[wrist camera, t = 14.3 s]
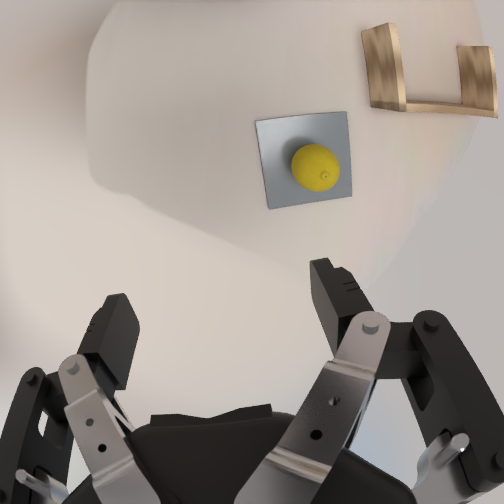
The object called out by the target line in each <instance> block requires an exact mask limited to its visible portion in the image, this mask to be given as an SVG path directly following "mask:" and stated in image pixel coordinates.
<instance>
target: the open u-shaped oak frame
mask: <svg viewBox="0 0 504 504" xmlns="http://www.w3.org/2000/svg"><path fill="white" fill-rule="evenodd" d="M361 34H362V40H363V46H364V52H365V59H366V66H367V73H368V81H369V90H370V100H371V107H374V108H381V109H387V110H393V111H398V112H431V113H450V114H463V115H474V116H483V117H491V118H498V103H497V85H496V73H495V64H494V56H493V49H492V47H489V46H465V47H457V52H458V60H459V68H460V78H461V90H462V104H454V103H442V102H429V101H408V100H406V96H405V85H404V75H403V67H402V59H401V52H400V46H399V39H398V34H397V28H396V23H389V22H388V23H385V24H382V25H379V26H376V27H373V28H371V29H368V30H365V31H362V32H361Z"/></svg>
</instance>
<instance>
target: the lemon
mask: <svg viewBox="0 0 504 504" xmlns="http://www.w3.org/2000/svg"><path fill="white" fill-rule="evenodd" d="M291 167H292V173H293V175H294V178H295V179H296V181H297V182H298V183H299V184H300V185H301V186H302V187H304V188H306V189H308V190H310V191H315V192H321V191H325V190H328V189H330V188H331V187H333V186H334V185H335V184H336V182H337V180H338V178H339V175H340V166H339V162H338V160H337V158H336V156H335V155H334V154H333V153H332V151H331V150H329V149H328V148H326V147H324V146H321V145H318V144H310V145H306V146H304V147H301V148H300V149H299V150H298V151H297V152H296V153H295V155H294V157H293V159H292V164H291Z"/></svg>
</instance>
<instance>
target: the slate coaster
mask: <svg viewBox="0 0 504 504" xmlns="http://www.w3.org/2000/svg"><path fill="white" fill-rule="evenodd" d="M255 124H256V130H257V136H258V142H259V149H260V155H261V161H262V168H263V174H264V181H265V187H266V194H267V201H268V208H269V210H270V209H276V208H282V207H288V206H294V205H300V204H306V203H312V202H318V201H325V200H331V199H338V198H345V197H352V177H351V158H350V143H349V130H348V119H347V112H332V113H320V114H309V115H299V116H290V117H282V118H274V119H267V120H260V121H255ZM310 144H318V145H321V146H324V147H326V148H328V149H329V150H331V151H332V153H333V154H334V155H335V156H336V158H337V160H338V162H339V166H340V175H339V178H338V180H337V182H336V184H335V185H334V186H333V187H331V188H330V189H328V190H325V191H321V192H315V191H310V190H308V189H306V188H304V187H302V186H301V185H300V184H299V183H298V182H297V181H296V179H295V178H294V175H293V173H292V167H291V164H292V159H293V157H294V155H295V153H296V152H297V151H298V150H299V149H300V148H301V147H304V146H306V145H310Z"/></svg>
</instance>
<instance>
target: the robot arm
mask: <svg viewBox="0 0 504 504" xmlns="http://www.w3.org/2000/svg"><path fill="white" fill-rule="evenodd" d="M310 280H311V294H312V299H313V303H314V306H315V309H316V311H317V314H318V317H319V319H320V322H321V324H322V327H323V329H324V332H325V335H326V337H327V340H328V343H329V345H330V348H331V350H332V353H333V355H334V359H333V360H332V361H327V362H326V363H325V365H324V367H323V368H322V370H321V372H320V374H319V376H318V378H317V380H316V381H315V383H314V385H313V387H312V389H311V390H310V392H309V394H308V395H307V397H306V399H305V401H304V402H303V404H302V406H301V407H300V409H299V411H298V413H297V414H296V416H294V415H291V414H288V413H282V412H272V408H271V404H265V405H259V406H252V407H245V408H239V409H236V410H233V411H230V412H227V413H224V414H221V415H218V416H215V417H212V418H200V417H194V416H188V415H182V414H164V415H151V420H150V424H147V425H144V426H141V427H139V428H137V429H135V428H134V426H133V425H132V423H131V422H130V420H129V418H128V417H127V415H126V414H125V412H124V410H123V408H122V407H121V405H120V403H119V402H118V400H117V398H116V397H115V396H114V393H115V390H125V389H126V385H127V380H128V376H129V372H130V368H131V363H132V359H133V355H134V351H135V348H136V343H137V340H138V336H139V332H140V326H139V321H138V319H137V317H136V315H135V312H134V310H133V308H132V306H131V304H130V302H129V300H128V298H127V296H126V295H125V294H124V293H120V294H114V295H108V296H107V298H106V300H105V302H104V304H103V306H102V308H100V309H99V310H98V311H97V312H96V313H95V314H94V315H93V317H92V319H91V321H90V326H88V328H87V330H86V331H87V332H86V333H85V335H84V337H83V340H82V342H81V344H80V347H79V349H78V352H77V354H75V355H72V356H69V357H68V358H66V359H65V360H64V361H63V362H62V363H61V365H60V367H59V370H58V371H57V372H54V373H51V374H48V375H46V374H45V373H44V371H43V370H42V369H41V368H39V367H34V368H31V369H29V370H28V371H27V372H26V373H25V374H24V375H23V376H22V378H21V381H20V383H19V386H18V388H17V391H16V393H15V396H14V399H13V401H12V404H11V407H10V410H9V413H8V416H7V419H6V422H5V425H4V428H3V431H2V435H1V438H0V504H466V503H468V502H470V501H472V500H474V499H476V498H478V497H480V496H482V495H484V494H485V493H487V492H489V491H491V490H492V489H494V488H496V487H497V486H499V485H501V484H502V483H504V415H503V413H502V411H501V409H500V407H499V405H498V403H497V401H496V399H495V398H494V395H493V393H492V392H491V390H490V388H489V386H488V384H487V383H486V381H485V379H484V377H483V375H482V374H481V372H480V370H479V369H478V367H477V365H476V363H475V362H474V360H473V358H472V357H471V355H470V354H469V352H468V351H467V349H466V347H465V346H464V344H463V342H462V341H461V339H460V338H459V336H458V335H457V333H456V332H455V330H454V329H453V327H452V326H451V324H450V323H449V321H448V320H447V318H446V317H445V316H444V315H442V314H441V313H439V312H436V311H433V310H425V311H421V312H419V313H418V314H416V316H415V317H414V319H413V322H403V323H402V322H401V323H398V322H397V323H396V322H390V321H389V319H388V318H387V317H386V316H384V315H383V314H381V313H379V312H375V311H374V310H373V308H372V306H371V304H370V303H369V302H368V300H367V298H366V296H365V295H364V293H363V291H362V290H361V289H360V287H359V285H358V283H357V282H356V280H355V279H354V277H353V275H352V274H351V273H350V272H349V271H347V270H346V269H344V268H343V267H339V268H334V267H333V265H332V264H331V262H330V260H329V259H328V258H322V259H317V260H312V261H310ZM378 379H401V381H402V384H403V386H404V389H405V391H406V393H407V396H408V399H409V401H410V403H411V406H412V409H413V411H414V414H415V416H416V419H417V422H418V424H419V427H420V430H421V432H422V435H423V438H424V441H425V444H426V447H427V449H426V450H425V451H424V452H423V454H422V455H421V456H420V458H419V460H418V463H417V471H418V478H417V482H416V484H415V486H414V488H413V489H411V490H410V488H409V487H408V486H407V485H405V484H404V483H403V482H401V481H400V480H398V479H396V478H394V477H393V476H391V475H389V474H387V473H385V472H384V471H382V470H381V469H379V468H377V467H376V466H374V465H372V464H371V463H369V462H368V461H366V460H364V459H363V458H361V457H360V456H358V455H356V454H355V453H353V452H351V451H350V450H349V449H350V447H351V445H352V443H353V440H354V438H355V436H356V434H357V432H358V429H359V427H360V424H361V421H362V419H363V416H364V414H365V411H366V409H367V406H368V404H369V401H370V399H371V397H372V394H373V391H374V388H375V386H376V383H377V380H378ZM42 411H44V412H45V413H46V414H47V415H48V420H47V423H46V427H45V431H44V435H43V437H42V435H41V434H40V432H39V429H38V424H39V420H40V417H41V413H42ZM74 437H75V440H76V442H77V444H78V447H79V449H80V452H81V454H82V456H83V458H84V460H85V463H86V465H87V467H88V469H89V471H90V473H91V474H90V475H89V476H88V477H87V478H86V479H85V480H84V481H83V482H82V483H81V484H80V485H79V486H78V487H77V488H76V489H75V490H74V491H73V492H72V493H71V494H70V495H69V494H68V490H67V488H66V483H67V476H68V469H69V462H70V457H71V450H72V445H73V440H74Z"/></svg>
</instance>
